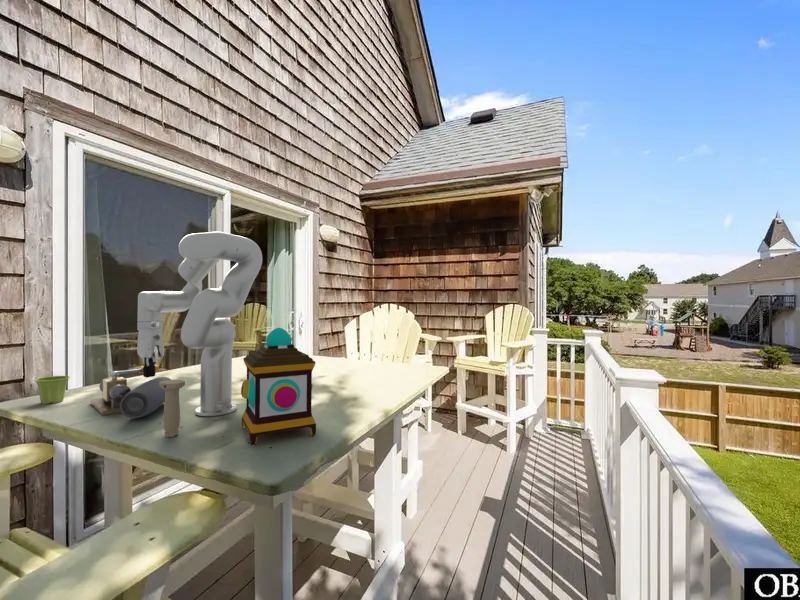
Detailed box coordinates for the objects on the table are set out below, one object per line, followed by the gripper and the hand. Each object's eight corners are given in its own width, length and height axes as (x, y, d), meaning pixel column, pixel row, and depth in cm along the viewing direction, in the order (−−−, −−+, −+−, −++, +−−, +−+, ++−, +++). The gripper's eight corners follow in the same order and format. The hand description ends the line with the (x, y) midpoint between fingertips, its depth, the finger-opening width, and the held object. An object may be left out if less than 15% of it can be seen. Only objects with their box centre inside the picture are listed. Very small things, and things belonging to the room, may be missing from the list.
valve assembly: (146, 407, 133) (146, 377, 133) (103, 415, 124) (103, 382, 124) (130, 397, 146) (131, 369, 146) (90, 403, 137) (91, 373, 137)
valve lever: (111, 376, 132) (111, 370, 132) (109, 374, 134) (109, 369, 134) (158, 370, 143) (158, 365, 143) (156, 369, 145) (156, 364, 145)
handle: (174, 440, 103) (175, 384, 103) (154, 437, 105) (155, 382, 105) (188, 433, 108) (188, 380, 108) (168, 432, 109) (169, 379, 109)
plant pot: (53, 398, 145) (53, 375, 145) (76, 399, 144) (76, 375, 144) (27, 404, 135) (27, 380, 135) (51, 405, 134) (51, 381, 134)
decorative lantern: (322, 437, 107) (323, 329, 107) (246, 450, 97) (247, 331, 97) (302, 417, 124) (303, 324, 124) (236, 427, 114) (237, 326, 114)
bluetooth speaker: (146, 402, 138) (149, 374, 138) (175, 403, 140) (177, 375, 140) (115, 422, 116) (118, 389, 116) (149, 422, 118) (153, 390, 118)
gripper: (171, 326, 137) (171, 377, 138) (151, 324, 145) (150, 372, 146) (149, 327, 131) (148, 381, 131) (128, 325, 139) (127, 375, 139)
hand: (149, 376), depth 138 cm, fingers closed
